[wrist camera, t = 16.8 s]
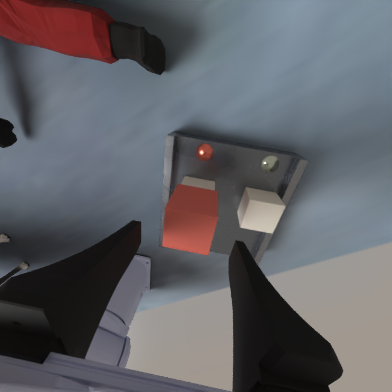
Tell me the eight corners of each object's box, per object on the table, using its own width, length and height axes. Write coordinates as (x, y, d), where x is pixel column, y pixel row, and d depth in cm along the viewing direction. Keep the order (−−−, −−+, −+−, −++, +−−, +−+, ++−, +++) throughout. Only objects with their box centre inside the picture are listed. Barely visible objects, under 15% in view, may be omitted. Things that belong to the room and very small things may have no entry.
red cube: (210, 223, 18) (208, 255, 14) (174, 216, 18) (162, 246, 14) (217, 191, 16) (218, 217, 12) (177, 183, 16) (165, 207, 13)
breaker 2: (265, 217, 21) (272, 233, 18) (237, 212, 21) (240, 227, 18) (276, 192, 19) (285, 206, 16) (245, 186, 19) (250, 199, 16)
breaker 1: (209, 207, 21) (208, 221, 18) (181, 201, 21) (176, 215, 18) (215, 181, 19) (214, 193, 17) (185, 175, 19) (179, 186, 17)
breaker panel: (253, 249, 26) (257, 265, 23) (164, 232, 26) (158, 246, 24) (295, 153, 19) (308, 160, 16) (173, 131, 19) (166, 135, 16)
